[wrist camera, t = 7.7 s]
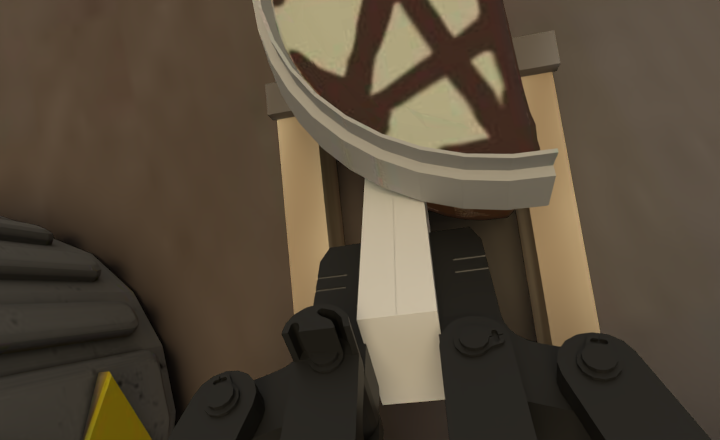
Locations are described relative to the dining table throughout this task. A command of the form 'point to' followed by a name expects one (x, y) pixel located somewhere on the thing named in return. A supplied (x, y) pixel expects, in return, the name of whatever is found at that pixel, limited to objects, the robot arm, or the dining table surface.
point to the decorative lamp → (74, 347)
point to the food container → (413, 98)
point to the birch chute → (536, 224)
